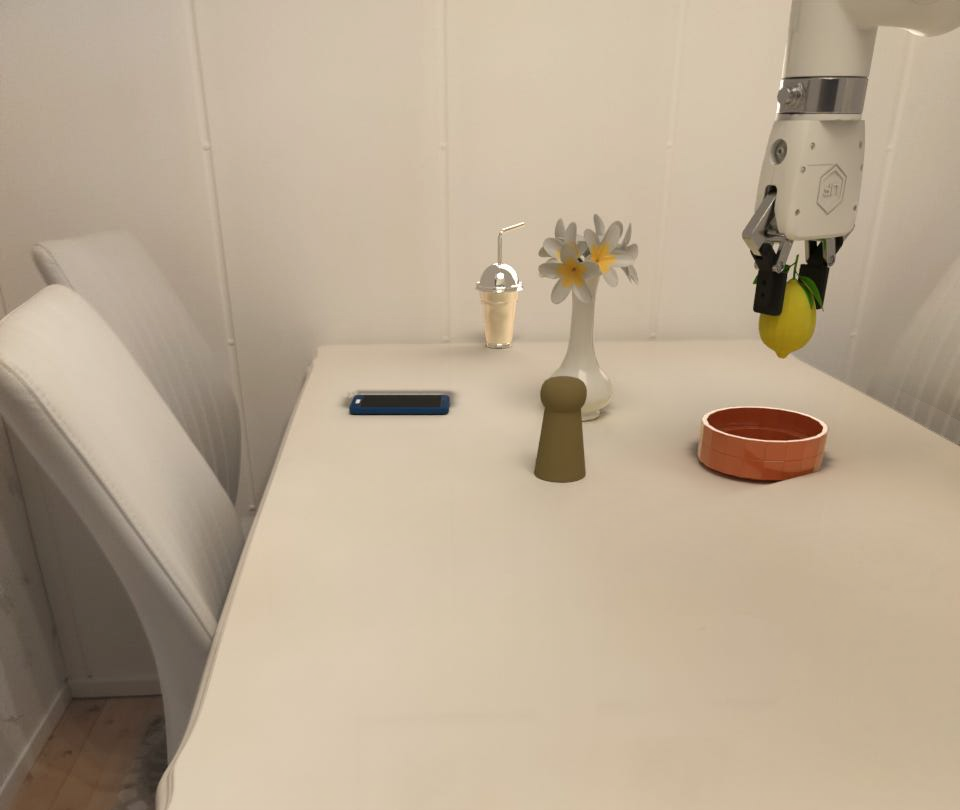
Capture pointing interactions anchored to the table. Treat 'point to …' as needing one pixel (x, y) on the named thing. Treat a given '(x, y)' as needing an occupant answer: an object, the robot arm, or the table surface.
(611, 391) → the flower vase
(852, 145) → the robot arm
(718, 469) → the bowl
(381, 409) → the cell phone
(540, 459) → the olive game pawn
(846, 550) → the table surface
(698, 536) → the table surface
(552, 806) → the table surface
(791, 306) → the lemon
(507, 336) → the cup with straw
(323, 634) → the table surface
